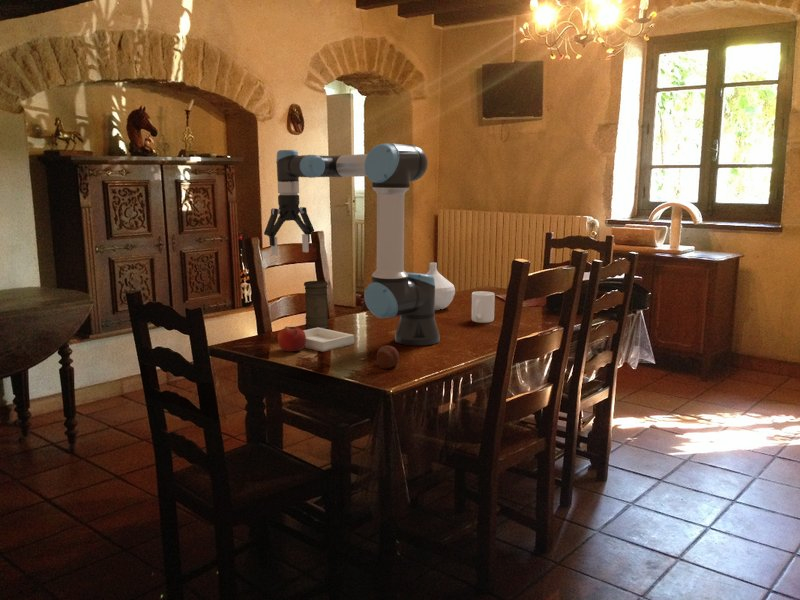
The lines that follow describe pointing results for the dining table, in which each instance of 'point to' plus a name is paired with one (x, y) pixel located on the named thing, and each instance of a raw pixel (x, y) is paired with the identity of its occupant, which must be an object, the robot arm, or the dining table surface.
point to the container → (316, 304)
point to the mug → (483, 306)
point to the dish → (326, 339)
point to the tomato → (291, 339)
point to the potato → (387, 357)
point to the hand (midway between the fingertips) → (290, 253)
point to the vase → (441, 288)
